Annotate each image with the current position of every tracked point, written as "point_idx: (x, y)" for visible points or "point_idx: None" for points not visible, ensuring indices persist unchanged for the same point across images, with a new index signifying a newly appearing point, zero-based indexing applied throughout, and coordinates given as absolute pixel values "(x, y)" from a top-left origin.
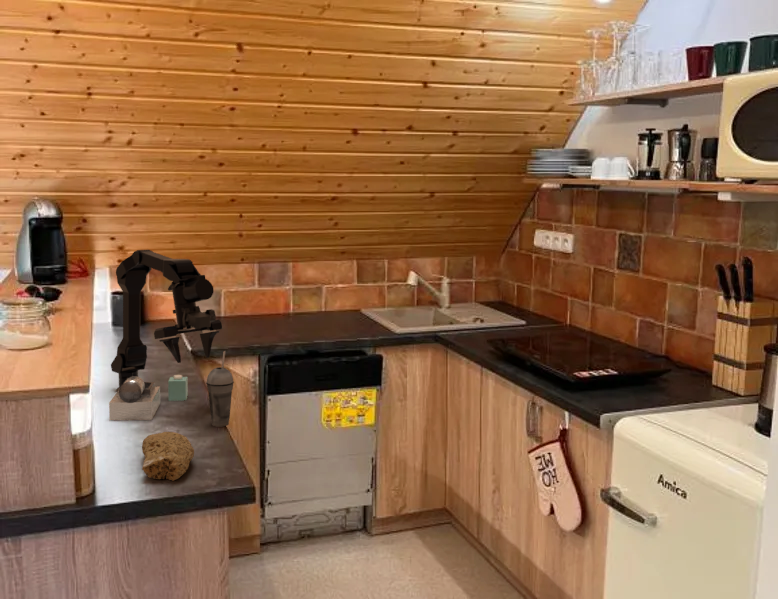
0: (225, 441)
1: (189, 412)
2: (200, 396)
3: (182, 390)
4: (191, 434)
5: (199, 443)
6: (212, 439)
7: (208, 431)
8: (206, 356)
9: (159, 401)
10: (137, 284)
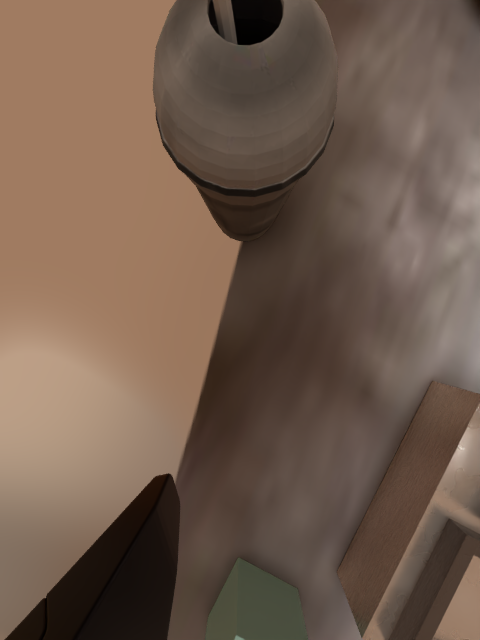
0: None
1: (284, 399)
2: None
3: (250, 598)
4: (369, 160)
5: (379, 64)
6: None
7: None
8: (176, 504)
9: (350, 562)
10: None
